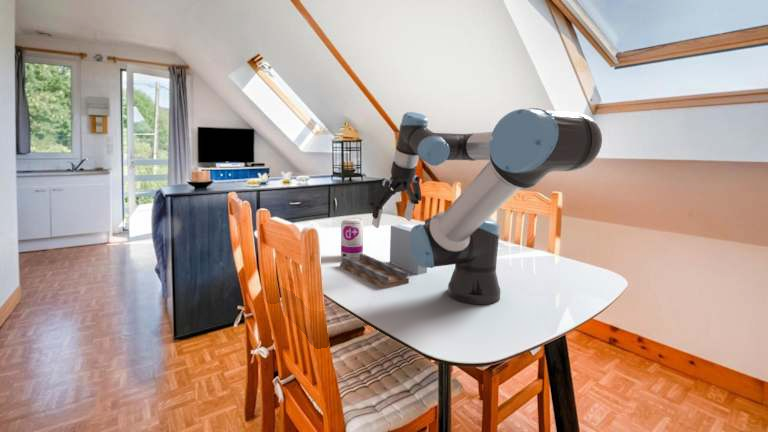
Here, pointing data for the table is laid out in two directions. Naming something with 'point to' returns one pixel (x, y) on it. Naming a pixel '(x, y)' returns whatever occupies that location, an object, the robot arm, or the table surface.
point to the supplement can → (352, 238)
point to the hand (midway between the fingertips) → (391, 222)
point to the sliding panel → (403, 250)
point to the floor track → (375, 271)
